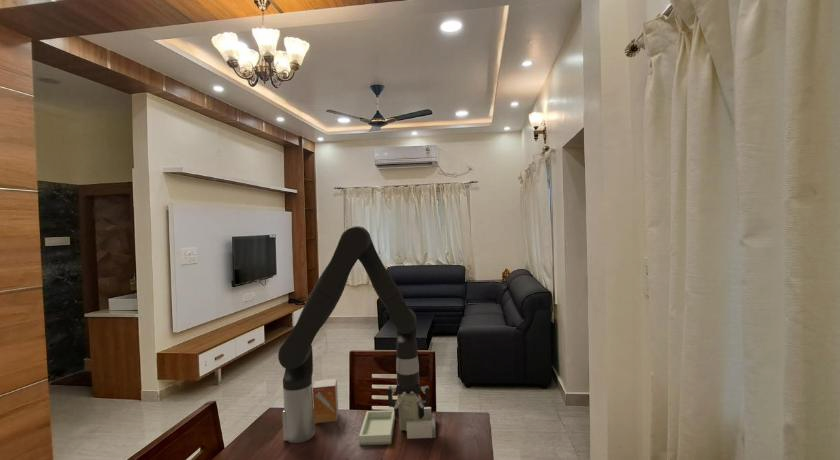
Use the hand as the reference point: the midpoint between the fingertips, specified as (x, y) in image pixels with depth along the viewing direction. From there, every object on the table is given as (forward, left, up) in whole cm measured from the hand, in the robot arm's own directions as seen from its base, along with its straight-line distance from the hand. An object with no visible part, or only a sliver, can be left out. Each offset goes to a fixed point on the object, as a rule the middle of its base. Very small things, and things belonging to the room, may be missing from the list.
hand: (409, 417), depth 130 cm
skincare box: (0, 0, -4) cm, 4 cm away
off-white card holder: (+3, 0, -4) cm, 5 cm away
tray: (-11, 0, -4) cm, 11 cm away
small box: (-31, +10, -4) cm, 33 cm away
